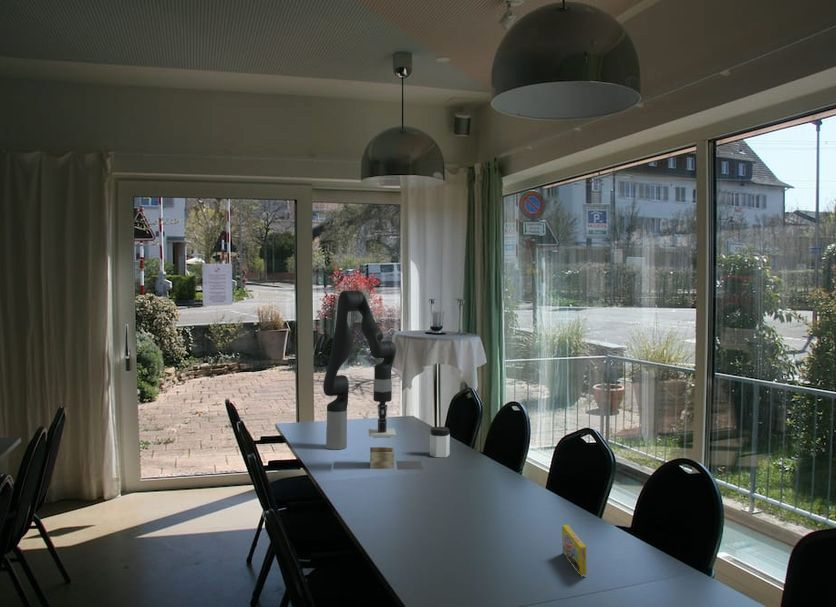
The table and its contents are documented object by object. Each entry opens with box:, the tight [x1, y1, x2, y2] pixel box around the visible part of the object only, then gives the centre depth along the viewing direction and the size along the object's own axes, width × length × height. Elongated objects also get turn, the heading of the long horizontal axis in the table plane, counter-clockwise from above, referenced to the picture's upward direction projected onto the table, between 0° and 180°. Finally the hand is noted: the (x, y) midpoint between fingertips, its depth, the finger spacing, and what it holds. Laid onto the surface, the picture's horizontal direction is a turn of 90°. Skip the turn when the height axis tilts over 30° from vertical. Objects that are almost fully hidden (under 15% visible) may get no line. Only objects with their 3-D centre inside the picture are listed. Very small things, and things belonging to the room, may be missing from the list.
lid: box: [368, 418, 397, 439], centre depth 287 cm, size 11×11×7 cm
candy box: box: [561, 524, 587, 575], centre depth 190 cm, size 16×2×8 cm, turn 5°
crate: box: [369, 446, 395, 470], centre depth 288 cm, size 10×10×7 cm
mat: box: [396, 460, 424, 470], centre depth 289 cm, size 10×13×1 cm
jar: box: [429, 426, 451, 458], centre depth 307 cm, size 9×8×12 cm
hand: (382, 430), depth 287 cm, fingers closed on lid, 3 cm apart
